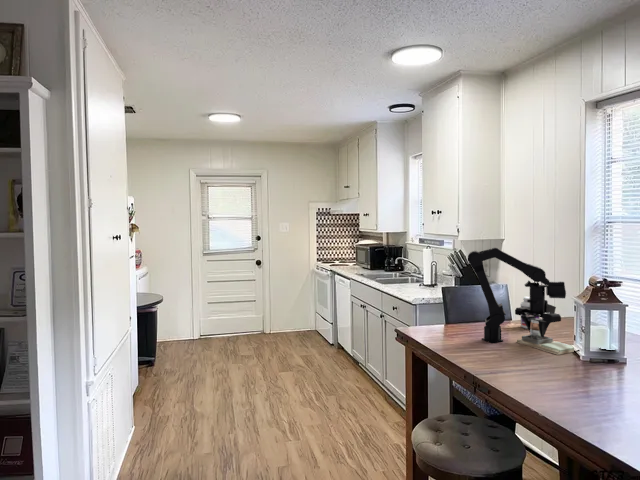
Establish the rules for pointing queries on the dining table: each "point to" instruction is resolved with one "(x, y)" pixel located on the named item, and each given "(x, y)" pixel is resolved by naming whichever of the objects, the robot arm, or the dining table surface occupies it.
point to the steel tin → (535, 329)
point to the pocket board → (547, 345)
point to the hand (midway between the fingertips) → (537, 335)
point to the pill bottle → (527, 304)
